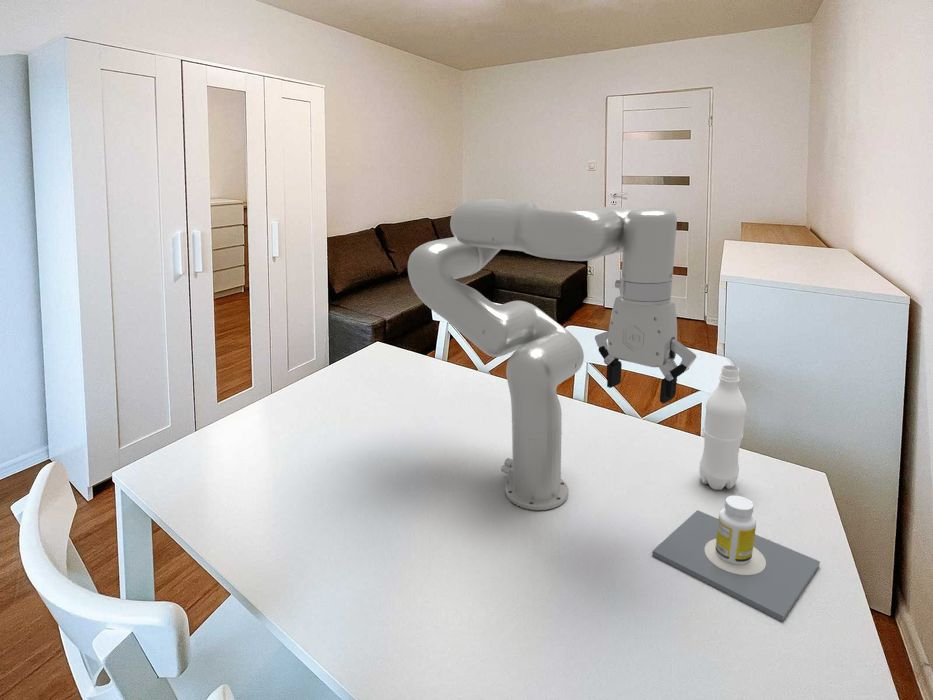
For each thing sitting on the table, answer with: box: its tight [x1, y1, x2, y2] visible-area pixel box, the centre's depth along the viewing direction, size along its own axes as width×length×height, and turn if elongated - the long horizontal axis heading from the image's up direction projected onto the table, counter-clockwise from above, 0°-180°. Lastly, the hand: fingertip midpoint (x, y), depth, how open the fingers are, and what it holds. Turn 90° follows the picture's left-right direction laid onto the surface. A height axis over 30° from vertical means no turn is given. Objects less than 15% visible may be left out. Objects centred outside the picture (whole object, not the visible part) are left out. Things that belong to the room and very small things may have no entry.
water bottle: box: [698, 364, 747, 491], centre depth 107 cm, size 7×7×25 cm
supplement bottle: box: [715, 495, 757, 564], centre depth 88 cm, size 5×5×10 cm
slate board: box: [651, 509, 821, 623], centre depth 89 cm, size 20×16×1 cm
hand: (639, 392), depth 90 cm, fingers open, 9 cm apart
